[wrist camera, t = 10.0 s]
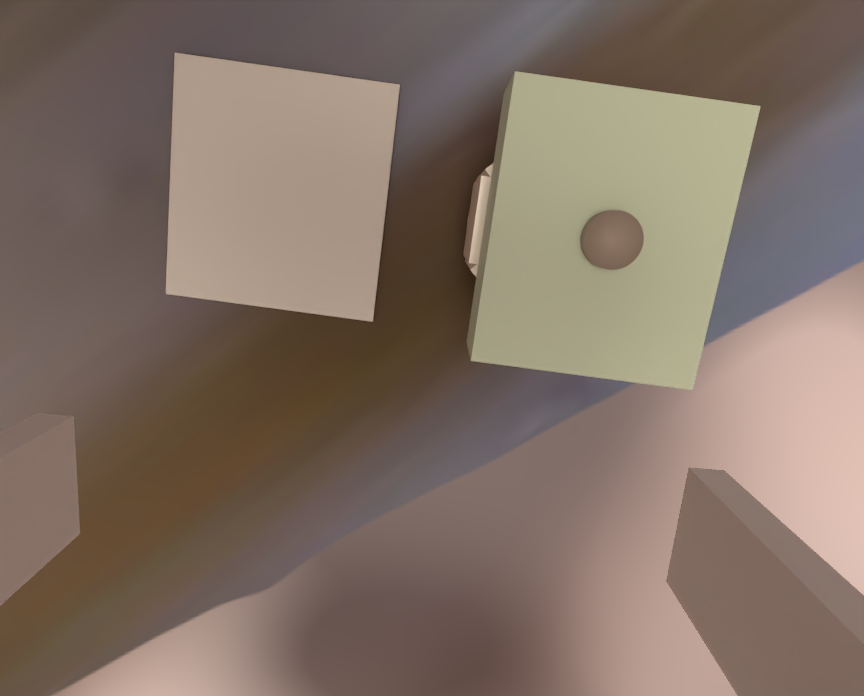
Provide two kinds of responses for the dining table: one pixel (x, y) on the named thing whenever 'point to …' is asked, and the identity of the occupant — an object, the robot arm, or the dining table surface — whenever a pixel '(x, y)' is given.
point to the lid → (606, 229)
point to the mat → (278, 186)
